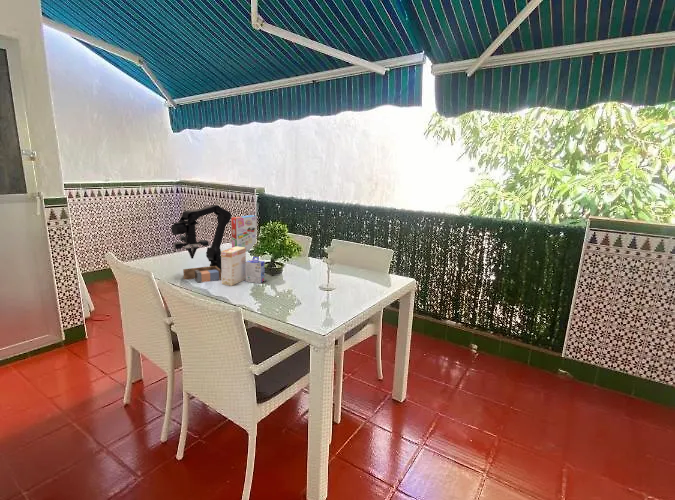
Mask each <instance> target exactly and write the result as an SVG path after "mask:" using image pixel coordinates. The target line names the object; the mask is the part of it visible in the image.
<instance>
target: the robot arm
mask: <svg viewBox="0 0 675 500" xmlns="http://www.w3.org/2000/svg"><path fill="white" fill-rule="evenodd" d="M213 213H214V215H216V221H217V226H216V230H215V233H214V237H213V240H212V244H211V246H210V247H208V246H209V244H210V243H209V241H208V240H207V239H200V240H199V241H197V233H196V232H197V231H196V230H197V229H196V225H198V224H199V222H198V221H197V220H199V218H201V217H203V216H207V215H210V214H213ZM232 217H233V216H232V213H231V211H228V210H226V209H225V208H222V206H220V205H218V204H211V205H209V206H205V207H202V208H199V209H189V210H183V212H182V215H181V217H180V218H179V220H178V222H173V223H172V225H171V229H170V230H171V231H170V232H171V233H172V235H174V236H177V235H178V236H179V241H177V242H175V241H174V242H173V243H172V244H173V245H172V247H173V248H174V249H175V250H181V249H183V248H184V249H185V250H187V252H188V253H189V257H190V258H191V259H194V257H195V254H196V252H197V250H198V249H199V246H201V245H202V246H203V247H207V248H206V253H205V256H206V258H207V260H208V262H210V264H209V266H217V267H218V268H219V269H220V270H221V273H222V269H221V251H222V250H221V245H222V241H223V237H224V234H225V231H226V228H227V227H226V226H227V225H228V224H229V223H230V221H231V218H232ZM183 234H184V235H183Z"/></svg>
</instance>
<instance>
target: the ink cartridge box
mask: <svg viewBox="0 0 675 500" xmlns="http://www.w3.org/2000/svg"><path fill="white" fill-rule="evenodd" d="M263 281H264V282H265V261H262V260H260V257H259V256H253V257H252V259H251V260H246V279H245V282H247V283H256V284H262V283H264V282H263Z"/></svg>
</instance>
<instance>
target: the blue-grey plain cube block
mask: <svg viewBox="0 0 675 500" xmlns="http://www.w3.org/2000/svg"><path fill="white" fill-rule="evenodd" d="M207 271H208V272H210V281H209V282H214V281H220V280H219V272H218V271H217V270H207Z"/></svg>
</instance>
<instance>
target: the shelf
mask: <svg viewBox="0 0 675 500" xmlns="http://www.w3.org/2000/svg"><path fill="white" fill-rule="evenodd" d="M195 270H199V271H207V270H217V271H218V272H219V280H218V281H222V272H221V270H220V269H219V268H218V267H217V266H210V265H209V266H201V267H191V268H184V269H183V280H191V279H194V280H195Z"/></svg>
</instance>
